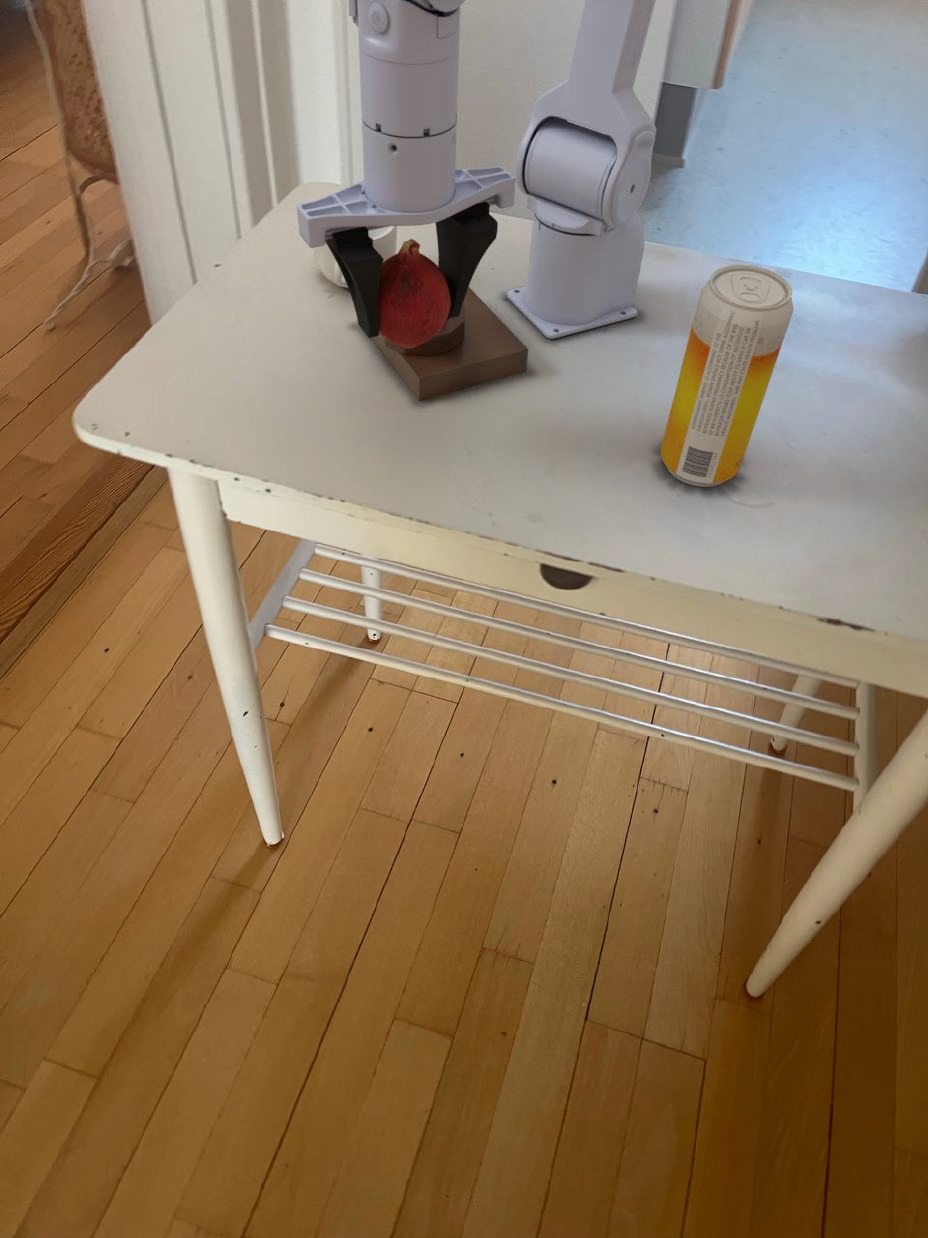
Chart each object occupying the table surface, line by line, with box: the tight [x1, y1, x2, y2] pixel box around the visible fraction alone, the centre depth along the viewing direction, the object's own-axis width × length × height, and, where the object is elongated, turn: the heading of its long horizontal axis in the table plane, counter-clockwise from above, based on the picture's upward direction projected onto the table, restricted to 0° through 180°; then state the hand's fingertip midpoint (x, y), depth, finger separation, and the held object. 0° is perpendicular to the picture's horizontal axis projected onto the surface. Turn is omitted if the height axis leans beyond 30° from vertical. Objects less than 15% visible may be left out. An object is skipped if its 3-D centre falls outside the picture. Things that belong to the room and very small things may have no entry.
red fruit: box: [378, 238, 451, 349], centre depth 66 cm, size 6×6×8 cm
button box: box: [369, 286, 529, 402], centre depth 80 cm, size 11×12×4 cm
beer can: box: [660, 264, 794, 488], centre depth 67 cm, size 6×6×15 cm
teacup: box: [312, 226, 398, 289], centre depth 86 cm, size 10×8×5 cm
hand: (409, 319), depth 67 cm, fingers closed on red fruit, 6 cm apart
